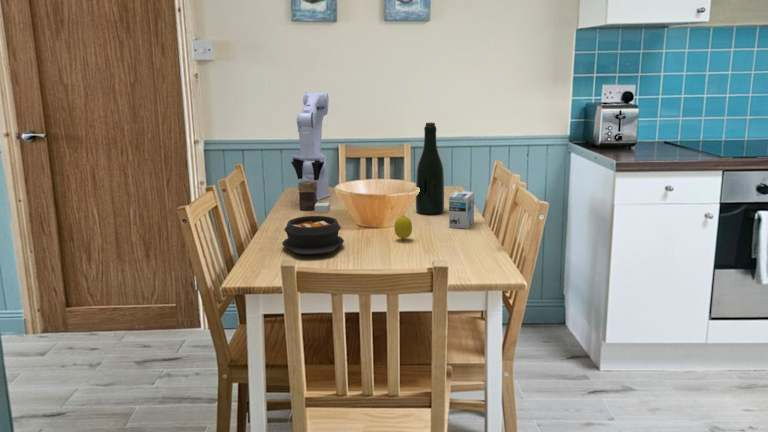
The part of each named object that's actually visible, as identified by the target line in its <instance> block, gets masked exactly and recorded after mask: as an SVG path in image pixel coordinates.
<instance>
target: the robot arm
mask: <svg viewBox="0 0 768 432" xmlns="http://www.w3.org/2000/svg"><path fill="white" fill-rule="evenodd" d="M302 98H303V99H302V100H303V101H302V102H303V107H302V109H301V110H300V111H301V112H299V113H297V115H296V125H297V132H298V138H299V139H298V140H299V141H298V143H299V144H298V145H299V154H291V155H290V163H291V165H292V167H293V169H294V171H295V174H296V176H297V180H301V179H303V176H304V177H305V181H313V182H317V190H316V191H317V201H319V200H322V199H325V198H328V197H330V196H331V194H330V193H329V179H328V177H327V176H326V175H327V173H328V163H327V162H328V160H327V157H326V156H325V155H324V154H323V153H321V150H322V147H321V146H322V136H323V135H322V132H323V120H324V117H325V116H327V115H328V112H329V94H328V93H327V92H326V91H324V92H322V91H321V92H320V91H319V92H318V91H315V92H311V91H310V92H307V91H304V92H303V95H302Z"/></svg>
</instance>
